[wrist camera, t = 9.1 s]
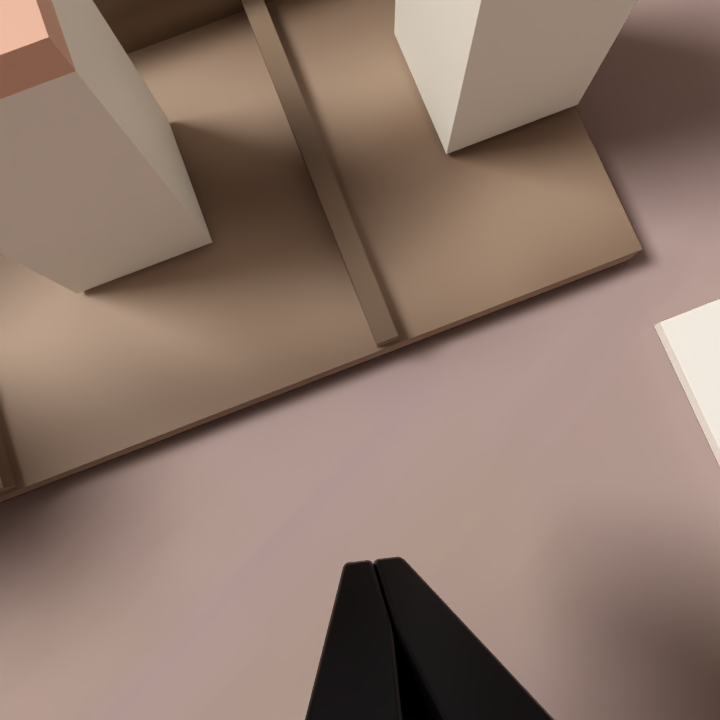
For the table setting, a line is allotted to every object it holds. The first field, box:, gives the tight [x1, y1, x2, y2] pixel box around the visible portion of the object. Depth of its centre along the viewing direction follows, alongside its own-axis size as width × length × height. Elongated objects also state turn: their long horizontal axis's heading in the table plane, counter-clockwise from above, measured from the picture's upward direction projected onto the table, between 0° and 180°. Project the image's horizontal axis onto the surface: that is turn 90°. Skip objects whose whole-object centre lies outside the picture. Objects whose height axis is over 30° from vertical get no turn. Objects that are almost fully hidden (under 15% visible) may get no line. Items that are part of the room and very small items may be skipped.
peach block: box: [0, 0, 212, 293], centre depth 13 cm, size 4×4×9 cm
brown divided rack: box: [0, 0, 642, 502], centre depth 17 cm, size 12×26×4 cm, turn 111°
